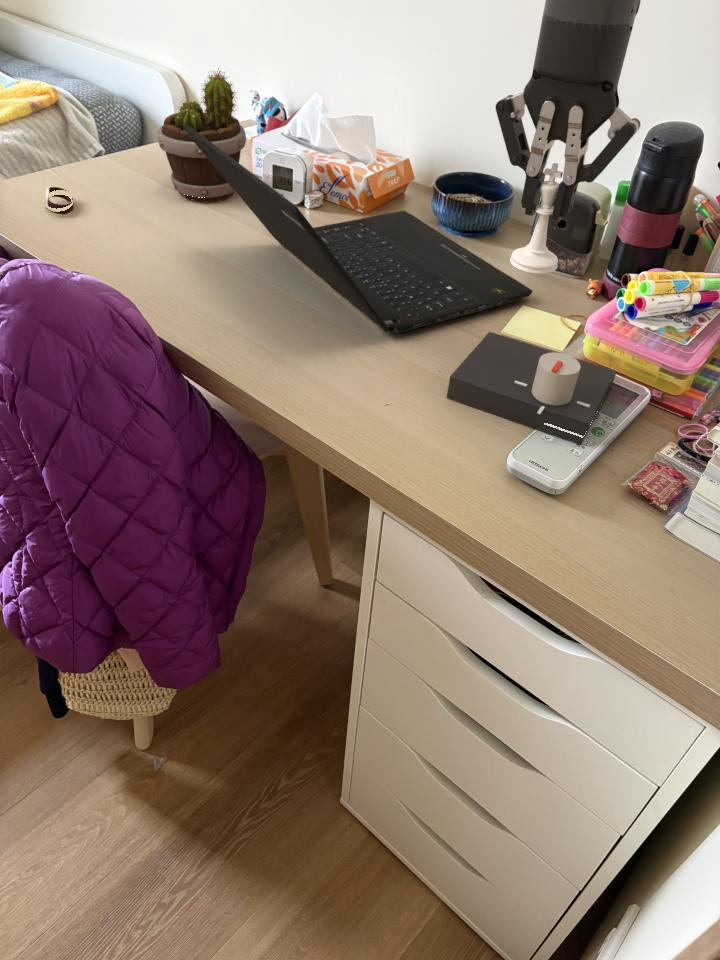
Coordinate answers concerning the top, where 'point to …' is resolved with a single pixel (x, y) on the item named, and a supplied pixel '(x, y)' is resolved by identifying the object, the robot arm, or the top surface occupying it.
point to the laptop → (376, 256)
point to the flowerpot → (215, 125)
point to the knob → (555, 378)
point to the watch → (57, 204)
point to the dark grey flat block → (527, 387)
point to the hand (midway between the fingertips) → (544, 215)
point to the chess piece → (540, 232)
